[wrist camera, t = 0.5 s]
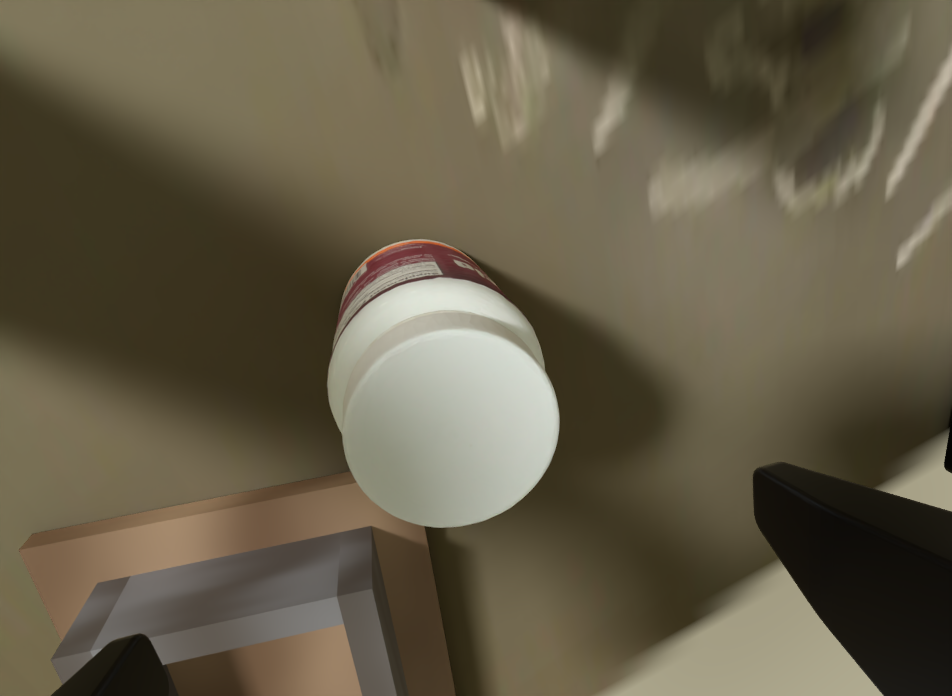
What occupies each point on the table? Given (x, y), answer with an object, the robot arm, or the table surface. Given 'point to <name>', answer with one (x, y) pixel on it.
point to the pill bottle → (439, 388)
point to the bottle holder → (254, 593)
